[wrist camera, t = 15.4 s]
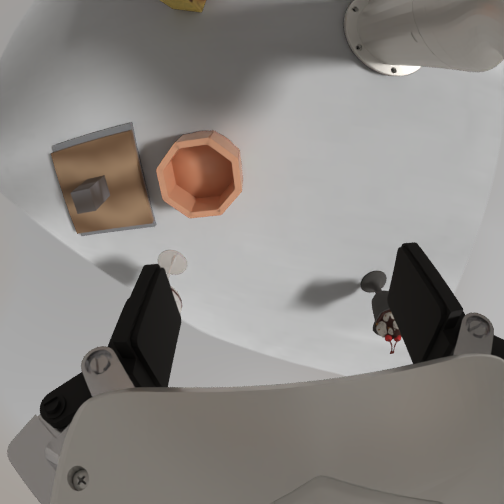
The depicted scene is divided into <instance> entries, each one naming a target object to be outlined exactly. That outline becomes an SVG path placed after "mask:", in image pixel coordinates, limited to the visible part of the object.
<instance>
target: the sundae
mask: <svg viewBox="0 0 504 504" xmlns="http://www.w3.org/2000/svg"><path fill="white" fill-rule="evenodd" d="M385 283H386V275H385V274H384V273H383V272H381V271H374V272H371V273H369V274H367V275H366V276H365V277H364V278H363V280H362V283H361V287H362V289H363V290H364V291H365V292H375V293H376V294H375V296H374V297H373V299H372V309H373V314H374V318H375V322H374V325H373V331H374V332H375V333H376V334H377V335H380V336H382V337H385V340H386V341H389V342H390V343H391V340H392V339H394V340H395V341H396V343H397V342H398V341H400V340H401V336H402V335H401V333H400V331H399V328H398V326H397V324H396V322H395V319H394V317H393V315H392V313H391V311H390V308H389V306H388V303H387V297H388V293H389V291H382V290H381V288H382V287H383V286H384V285H385ZM396 343H395V345H396ZM395 345H394V348H395ZM391 347H392V343H391ZM392 353H394V350H393V352H392V349H391V352H390V354H392Z"/></svg>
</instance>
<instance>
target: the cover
mask: <svg viewBox="0 0 504 504" xmlns="http://www.w3.org/2000/svg"><path fill="white" fill-rule="evenodd" d="M51 156H52V160H53V163H54V167H55V170H56V174H57V177H58V180H59V184H60V187H61V190H62V193H63V196H64V199H65V202H66V205H67V208H68V210H69V213H70V216H71V219H72V221H73V224H74V227H75V229H76V232H77V234H79V233H85V232H92V231H99V230H106V229H113V228H121V227H128V226H136V225H144V224H152V223H153V221H154V218H153V215H152V211H151V207H150V204H149V200H148V196H147V192H146V188H145V184H144V180H143V176H142V172H141V167H140V163H139V159H138V154H137V150H136V145H135V140H134V136H133V131H132V130H128V131H124V132H120V133H116V134H112V135H108V136H105V137H101V138H97V139H94V140H90V141H87V142H83V143H80V144H77V145H74V146H71V147H67V148H64V149H61V150H58V151H55V152H53V153H51Z"/></svg>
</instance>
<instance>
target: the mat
mask: <svg viewBox="0 0 504 504" xmlns="http://www.w3.org/2000/svg"><path fill="white" fill-rule="evenodd" d="M128 130H132V131H133V136H134V140H135V145H136V150H137V154H138V159H139V163H140V167H141V162H140V158H139V153H138V149H137V144H136V139H135V135H134V130H133V125H132V122H131V123H127V124H123V125H119V126H115V127H111V128H108V129H104V130H100V131H97V132H94V133H90V134H87V135H84V136H80V137H77V138H74V139H71V140H68V141H65V142H62V143H59V144H56V145H54V146H53V150H54V152H55V151H58V150H61V149H64V148H67V147H71V146H74V145H77V144H80V143H83V142H87V141H90V140H94V139H97V138H101V137H105V136H108V135H112V134H116V133H120V132H124V131H128ZM141 172H142V176H143V180H144V184H145V179H144V175H143V171H142V167H141ZM145 188H146V184H145ZM146 192H147V188H146ZM147 196H148V192H147ZM148 200H149V204H150V207H151V203H150V199H149V196H148ZM151 211H152V207H151ZM152 215H153V211H152ZM153 218H154V215H153ZM155 226H156V222H155V218H154V221H153V223H152V224H144V225H136V226H128V227H121V228H113V229H106V230H99V231H92V232H85V233H80V234H81V236H85V235H92V234H99V233H107V232H114V231H122V230H130V229H138V228H146V227H155Z"/></svg>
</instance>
